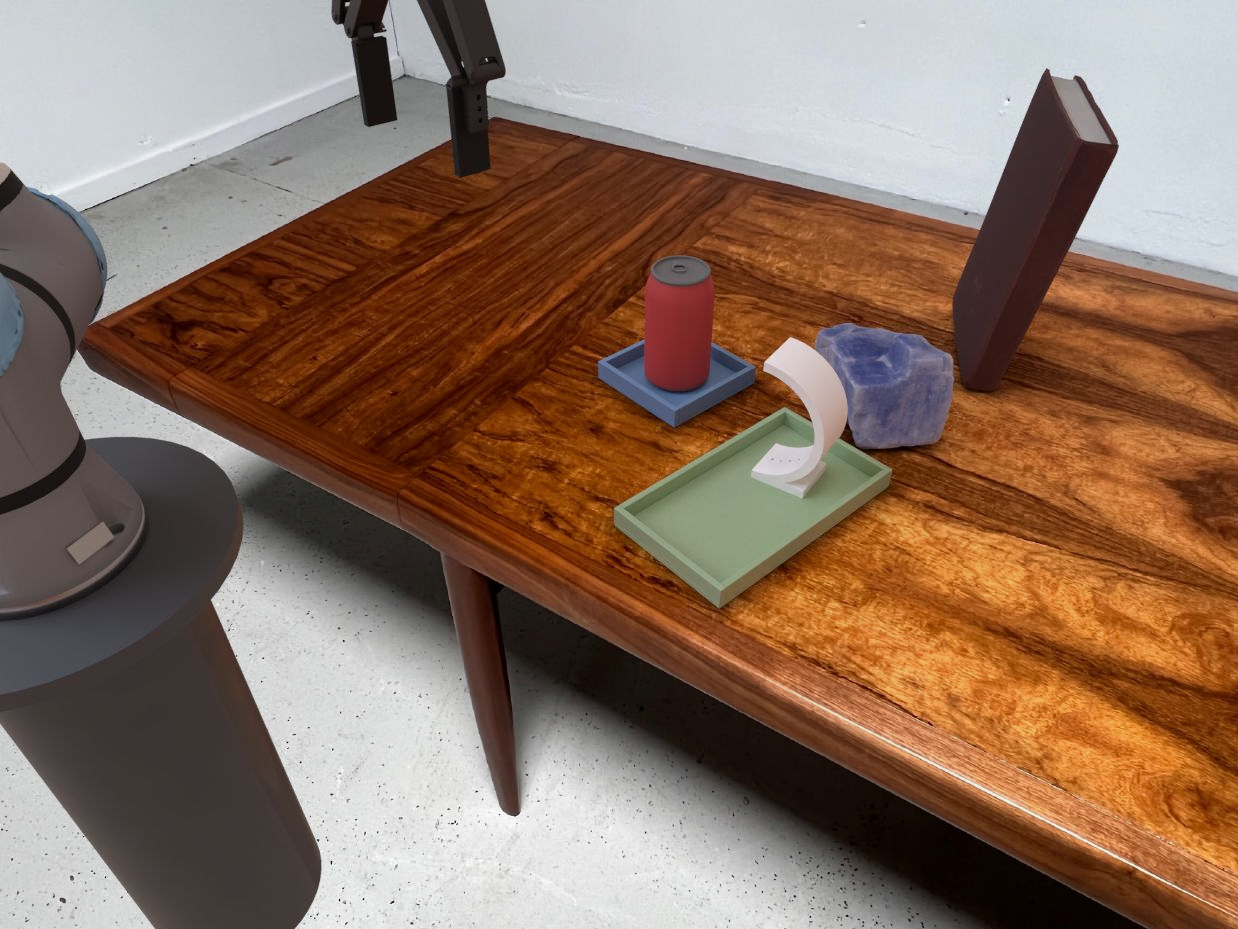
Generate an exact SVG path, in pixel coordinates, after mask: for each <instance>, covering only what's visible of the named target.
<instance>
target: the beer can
mask: <svg viewBox="0 0 1238 929" xmlns="http://www.w3.org/2000/svg"><path fill="white" fill-rule="evenodd" d="M711 273H712V270H711V266H710V265H709V264H708V262H706V261H704V260H703V259H701V258H699V257H695V256H692V255H685V254H679V255H677V254H676V255H668V256H665V257H662V258H659V259H658V260H657V261H654V262H653V263H652V265H651V267H650V274H649V275H648V278H647V280H646V283H645V288H644V339H645V340H644V339H643V340H644V374H645V376H646V378H647V379H648V381H649V382H650V383H652V384H653V385H654V386H656V387H658V388H661V389H663V390H667V391H673V392H683V391H688V390H692V389H695V388H697V387H699V386H700V385H702V384H703V383H704V382H705V381H706V380H707V378H708V376H709V372H710V358H711V343H712V342H713V341H712V340H713V327H714V315H715V314H714V312H715V300H716V290H715V284H714V280H713V278H712V274H711Z"/></svg>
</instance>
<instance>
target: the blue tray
mask: <svg viewBox="0 0 1238 929" xmlns="http://www.w3.org/2000/svg"><path fill="white" fill-rule="evenodd" d="M644 340H645V338H644V339H642V340H640V341H638V342H636V343H634V344H631V345H630V346H627V347H625V348H623V349H621V350H619V351H617V352H615V353H613V354H611V355H609V356H607V357H604V358H602V359H600V360H598V361H597V373H598V374H597V378H598V379H599V380H601V381H603V382H604V383H606V384H607V385H608V386H610V387H611V388H613V389H614V390H616V391H618V392H619V393H621V394H622V395H624V396H625V397H627V398H628V399H630V400H631V401H633V402H634V403H636V404H637V405H639V406H640V407H642V408H643V409H644V410H647V411H648V412H650V413H651V414H652V415H654V416H655V417H657V418H658V419H660V420H661V421H663V422H665V423H666V424H667V425H669V426H671V427H672V428H677V427H678V426H680V425H683V424H684V423H685V422H687V421H689V420H691V419H692V418H695V417H697V416H698V415H700V414H702V413H704V412H705V411H707V410H709V409H710V408H712V407H714V406H716V405H718V404H720V403H721V402H723V401H725V400H727V399H729V398H730V397H732V396H734V395H736V394H737V393H739V392H741V391H743V390H745V389H746V388H748V387H750V386H752V385H754V384H755V380H756V370H757V366H755V365H754V364H752V363H750V362H748V361H747V360H745V359H743V358H742V357H739V356H737V355H735V354H734V353H732V352H731V351H729V350H727V349H725V348H723V347H722V346H719V345H718V344H716V343H714V342H713V341H712V343H711V358H710V372H709V376H708V378H707V380H706V381H705V382H704V383H703V384H702V385H700V386H699V387H697V388H695V389H692V390H688V391H683V392H673V391H667V390H663V389H661V388H658V387H656V386H654V385H653V384H652V383H650V382H649V381H648V379H647V378H646V376H645V374H644Z"/></svg>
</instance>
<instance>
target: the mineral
mask: <svg viewBox="0 0 1238 929" xmlns="http://www.w3.org/2000/svg"><path fill="white" fill-rule="evenodd" d="M814 350H815V351H817V352H818V353H819V354H820V355H821V356H822V357H823V358H824V359H825V360H826V361H827V362H828V363H829V364H830V365H831V367H832V368H833V369H834V371H835V372H836V374H837V376H838V377H839V379H840V381H841V383H842V386H843V388H844V391H845V394H846V399H847V406H848V414H847V422H848V425H849V426H848V427H849V429H850V430H851V432H852V438H853V440H854V444H855V446H856V447H858V448H860V449H862V450H885V449H893V448H900V447H914V446H925V445H932V444H936V443H937V442H938V441H940V440H941V437H942V434H943V431H944V429H945V426H946V423H947V420H948V417H949V413H950V410H951V406H952V403H953V398H954V382H955V377H954V358H953V356H952V355H951V354H950V353H949V352H946V351H944V350H942V349H939V348H937V347H936V346H934V345H931V343H930V342H929V341H928V340H927V339H926V338H925V337H924V336H922V335H920V334H915V333H903V332H895V331H891V330H888V329H885V328H882V327H877V328H875V327H864V326H859V325H856V324H855V323H854V322H853V323H852V322H845V323H841V324H837V325H834V326H833V327H825V328H822V329H820V330H819V331H818V332H817V335H816V339H815V341H814Z"/></svg>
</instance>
